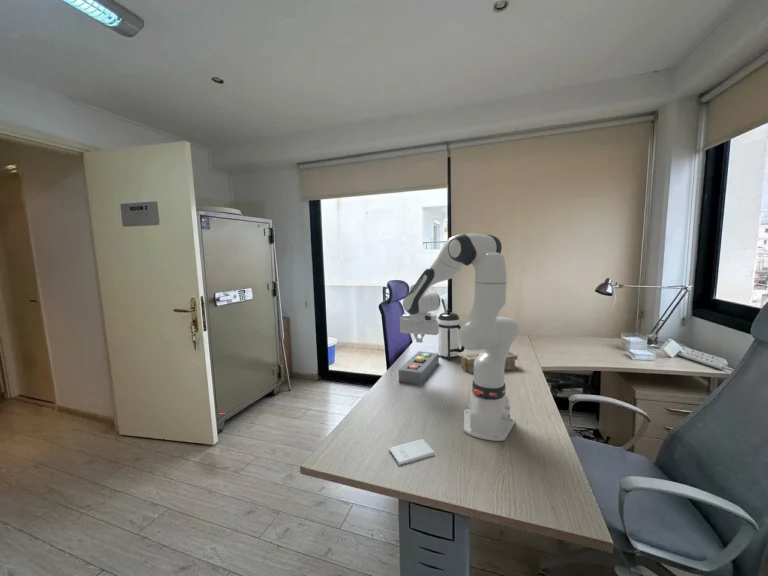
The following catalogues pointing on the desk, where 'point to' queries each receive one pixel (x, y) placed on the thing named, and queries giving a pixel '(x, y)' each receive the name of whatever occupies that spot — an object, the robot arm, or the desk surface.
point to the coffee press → (449, 334)
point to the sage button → (425, 355)
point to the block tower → (468, 360)
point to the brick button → (413, 367)
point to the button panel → (422, 372)
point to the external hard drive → (411, 451)
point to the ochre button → (419, 359)
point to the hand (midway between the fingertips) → (419, 342)
